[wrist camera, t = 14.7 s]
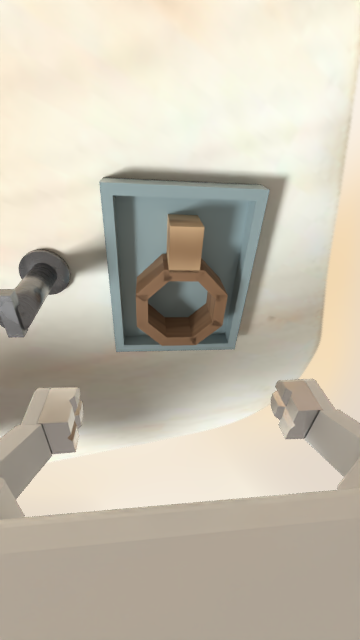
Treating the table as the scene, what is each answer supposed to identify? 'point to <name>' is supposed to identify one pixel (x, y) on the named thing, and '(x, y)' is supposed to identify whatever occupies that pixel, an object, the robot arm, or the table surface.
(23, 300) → the stake
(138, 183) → the tray
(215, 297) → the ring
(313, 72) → the table surface
